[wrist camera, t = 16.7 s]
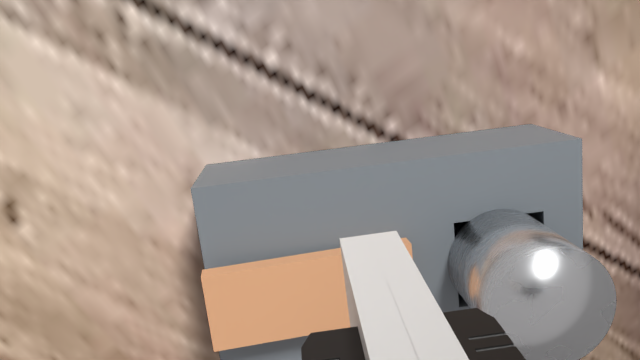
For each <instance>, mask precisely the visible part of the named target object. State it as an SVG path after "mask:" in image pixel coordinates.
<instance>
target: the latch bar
mask: <svg viewBox="0 0 640 360" xmlns="http://www.w3.org/2000/svg"><path fill="white" fill-rule="evenodd" d="M401 240H402V242H403V243H404V245H405V247H406V249H407V250H408V252H409V254H410V256H411V258H412V259H413V256H412V244H411V243H410V241H409V240H408V239H407V238H406V237H405V238H401ZM201 282H202V287H203V293H204V299H205V304H206V310H207V316H208V321H209V327H210V333H211V338H212V344H213V350H214V352H217V351H222V350H228V349H234V348H240V347H245V346H251V345H257V344H262V343H268V342H274V341H279V340H285V339H291V338H296V337H302V336H308V335H310V333H314V332H321V331H328V330H335V329H342V328H349V327H350V319H349V311H348V303H347V295H346V287H345V279H344V271H343V263H342V255H341V248H336V249H330V250H324V251H317V252H311V253H305V254H298V255H292V256H286V257H280V258H273V259H267V260H261V261H254V262H248V263H242V264H236V265H229V266H223V267H217V268H211V269H204V270H202V273H201Z"/></svg>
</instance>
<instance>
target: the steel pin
mask: <svg viewBox="0 0 640 360" xmlns="http://www.w3.org/2000/svg"><path fill="white" fill-rule="evenodd" d="M454 235H455V239H454V240H453V243H452V245H451V248H450V252H449V257H448V269H449V274H450V278H451V280H452V283H453V285H454V286H455V288H456V289H457V291H458V292H459V294H460V295H461V296H462V298H463V299H464V300H465V302H466V303H467V304H468V306H469V307H470V308H478V309H480V310H481V311H483V312H485V313H487V314H489V315H490V316H492V317H494V318H495V319H496V320H497V321H498V323H499V324H500V326H501V327H502V328H503V330H504V331H505V333H506V335H508V336H509V338H510V339H511V340H512V342H513V343H514V346H516V347H517V348H518V350H519V351H520V352H521V354H522V355H523V356H524V358H525V359H526V360H579V359H581V358H582V357H584V356H586V355H587V354H588V353H590V352H591V351H592V350H593V349H594V348H595V347H596V346H597V345H598V344H599V343H600V342H601V341H602V339H603V338H604V337H605V335H606V334H607V332H608V330H609V328H610V326H611V324H612V321H613V318H614V315H615V310H616V291H615V286H614V283H613V281H612V278H611V276H610V274H609V273H608V271H607V270H606V269H605V267H604V266H603V265H602V264H601V263H600V262H599V261H598V260H596V259H595V258H594V257H592V256H591V255H589V254H588V253H586V252H585V251H583V250H582V249H580V248H579V247H577V246H576V245H574V244H573V243H571V242H569V241H568V240H566V239H565V238H563V237H562V236H560V235H559V234H557V233H556V232H554V231H553V230H551V229H550V228H548V227H547V226H545V225H544V224H542V223H541V222H539V221H538V220H536V219H535V218H533V217H531V216H530V215H528V214H526V213H524V212H521V211H518V210H514V209H495V210H491V211H487V212H484V213H482V214H480V215H478V216H476V217H475V218H473V219H472V220H470V221H466V222H458V223H454Z"/></svg>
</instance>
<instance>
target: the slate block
mask: <svg viewBox="0 0 640 360" xmlns="http://www.w3.org/2000/svg"><path fill="white" fill-rule="evenodd" d="M191 193H192V199H193V205H194V210H195V216H196V222H197V228H198V233H199V239H200V245H201V251H202V256H203V262H204V268H205V269H211V268H217V267H223V266H229V265H236V264H242V263H248V262H254V261H261V260H267V259H273V258H280V257H286V256H292V255H298V254H305V253H311V252H317V251H324V250H330V249H336V248H341V247H340V239H339V238H346V237H354V236H361V235H368V234H376V233H383V232H390V231H397V233H398V234H399V236H400V238H405V237H406V238H407V239H408V240H409V241H410V243H411V244H412V256H413V261H414V263H415V265H416V266H417V268H418V270H419V272H420V273H421V275H422V277H423V279H424V281H425V282H426V284H427V286H428V288H429V289H430V291H431V293H432V295H433V296H434V298H435V300H436V302H437V304H438V305H439V307H440V309H441V311H442V312H450V311H457V310H464V309H471V308H470V307H469V306H468V304H467V303H466V302H465V300H464V299H463V298H462V296H461V295H460V294H459V292H458V291H457V289H456V288H455V286H454V285H453V283H452V280H451V278H450V274H449V269H448V257H449V252H450V248H451V245H452V243H453V240H454V239H455V235H454V223H458V222H466V221H470V220H472V219H473V218H475V217H476V216H478V215H480V214H482V213H484V212H487V211H491V210H495V209H514V210H518V211H521V212H524V213H526V214H528V215H530V216H531V217H533V218H535V219H536V220H538V221H539V222H541V223H542V224H544V225H545V226H547V227H548V228H550V229H551V230H553V231H554V232H556V233H557V234H559V235H560V236H562V237H563V238H565V239H566V240H568V241H569V242H571V243H573V244H574V245H576V246H577V247H579V248H580V249H582V250H583V202H582V139H581V138H578V137H574V136H571V135H567V134H564V133H560V132H557V131H554V130H550V129H547V128H543V127H540V126H536V125H533V124H527V125H519V126H511V127H503V128H496V129H488V130H480V131H472V132H464V133H456V134H448V135H440V136H432V137H424V138H416V139H408V140H400V141H392V142H384V143H376V144H368V145H360V146H352V147H344V148H337V149H329V150H321V151H313V152H305V153H297V154H289V155H281V156H273V157H265V158H257V159H249V160H241V161H233V162H225V163H217V164H209V165H206V166H205V168H204V169H203V171H202V172H201V174H200V175H199V177H198V178H197V180H196V181H195V183H194V184H193V186H192V187H191ZM308 336H309V335H308ZM308 336H302V337H296V338H291V339H285V340H279V341H274V342H268V343H262V344H257V345H251V346H245V347H240V348H234V349H228V350H222V351H219V354H220V360H302V357H301V347H302V345H303V344H304V342H305V341H306V339H307V338H308Z"/></svg>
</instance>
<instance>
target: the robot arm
mask: <svg viewBox="0 0 640 360" xmlns="http://www.w3.org/2000/svg"><path fill="white" fill-rule="evenodd" d="M339 239H340V247H341V255H342V263H343V271H344V279H345V287H346V295H347V303H348V311H349V319H350V327H349V328H342V329H335V330H328V331H321V332H314V333H310V335H309V336H308V338H307V339H306V341H305V342H304V344H303V345H302V347H301V357H302V360H526V359H525V358H524V356H523V355H522V354H521V352H520V351H519V350H518V348H517V347H516V346H514V343H513V342H512V340H511V339H510V338H509V336H508V335H506V333H505V331H504V330H503V328H502V327H501V326H500V324H499V323H498V321H497V320H496V319H495V318H494V317H492V316H490V315H489V314H487V313H485V312H483V311H481V310H480V309H478V308H471V309H464V310H457V311H450V312H442V311H441V309H440V307H439V305H438V304H437V302H436V300H435V298H434V296H433V295H432V293H431V291H430V289H429V288H428V286H427V284H426V282H425V281H424V279H423V277H422V275H421V273H420V272H419V270H418V268H417V266H416V265H415V263H414V261H413V259H412V258H411V256H410V254H409V252H408V250H407V249H406V247H405V245H404V243H403V242H402V240H401V238H400V236H399V234H398V233H397V231H390V232H383V233H376V234H368V235H361V236H354V237H346V238H339Z"/></svg>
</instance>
